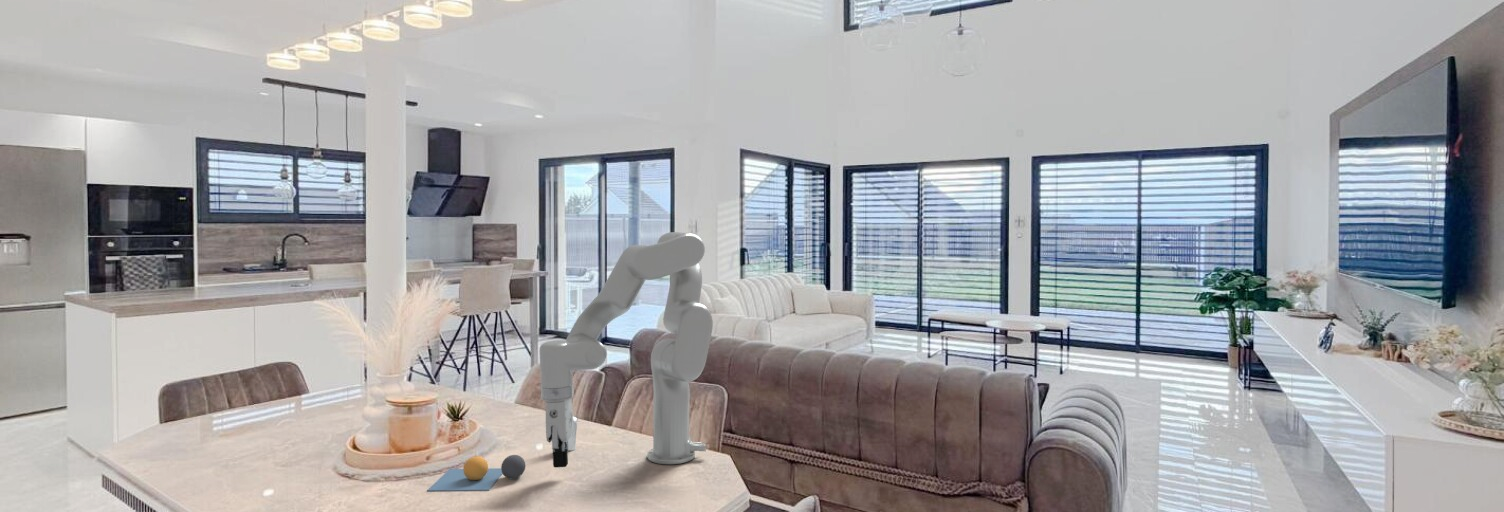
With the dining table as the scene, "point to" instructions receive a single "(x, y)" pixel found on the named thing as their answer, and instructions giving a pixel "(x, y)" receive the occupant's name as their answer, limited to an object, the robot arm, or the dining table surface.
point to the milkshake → (572, 437)
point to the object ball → (475, 468)
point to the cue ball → (513, 466)
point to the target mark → (465, 481)
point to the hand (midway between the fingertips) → (560, 465)
